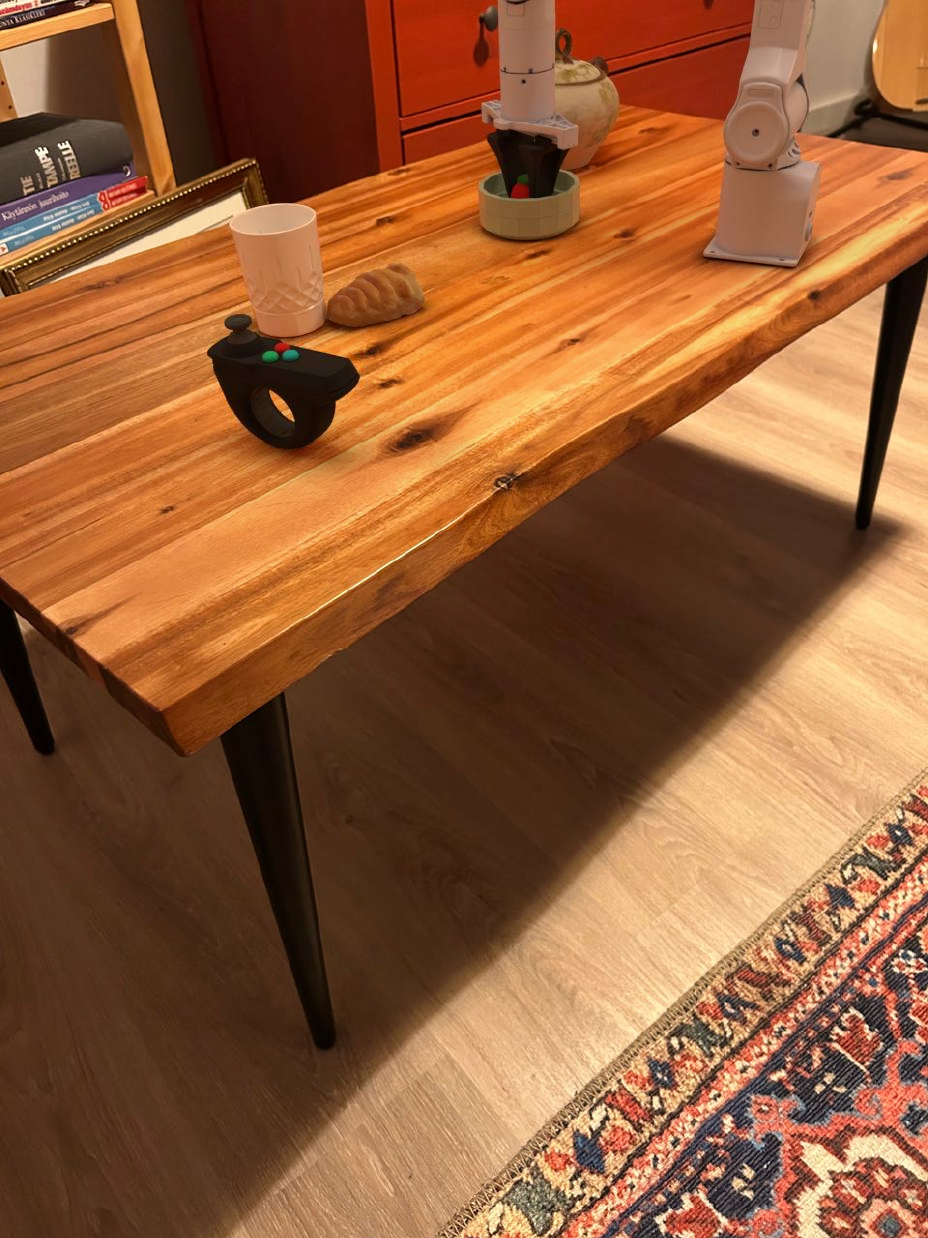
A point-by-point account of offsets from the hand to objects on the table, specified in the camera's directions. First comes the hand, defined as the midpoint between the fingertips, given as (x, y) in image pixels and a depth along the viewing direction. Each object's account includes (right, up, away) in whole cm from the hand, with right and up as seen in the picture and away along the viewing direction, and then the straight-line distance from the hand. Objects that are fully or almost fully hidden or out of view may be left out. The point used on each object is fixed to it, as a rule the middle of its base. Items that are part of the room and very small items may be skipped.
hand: (529, 203), depth 109 cm
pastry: (-16, -17, -14) cm, 27 cm away
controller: (-21, -33, -31) cm, 50 cm away
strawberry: (0, -1, +1) cm, 1 cm away
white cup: (-24, -18, -14) cm, 33 cm away
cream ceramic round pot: (+5, +13, +18) cm, 23 cm away
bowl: (0, -2, +2) cm, 2 cm away
